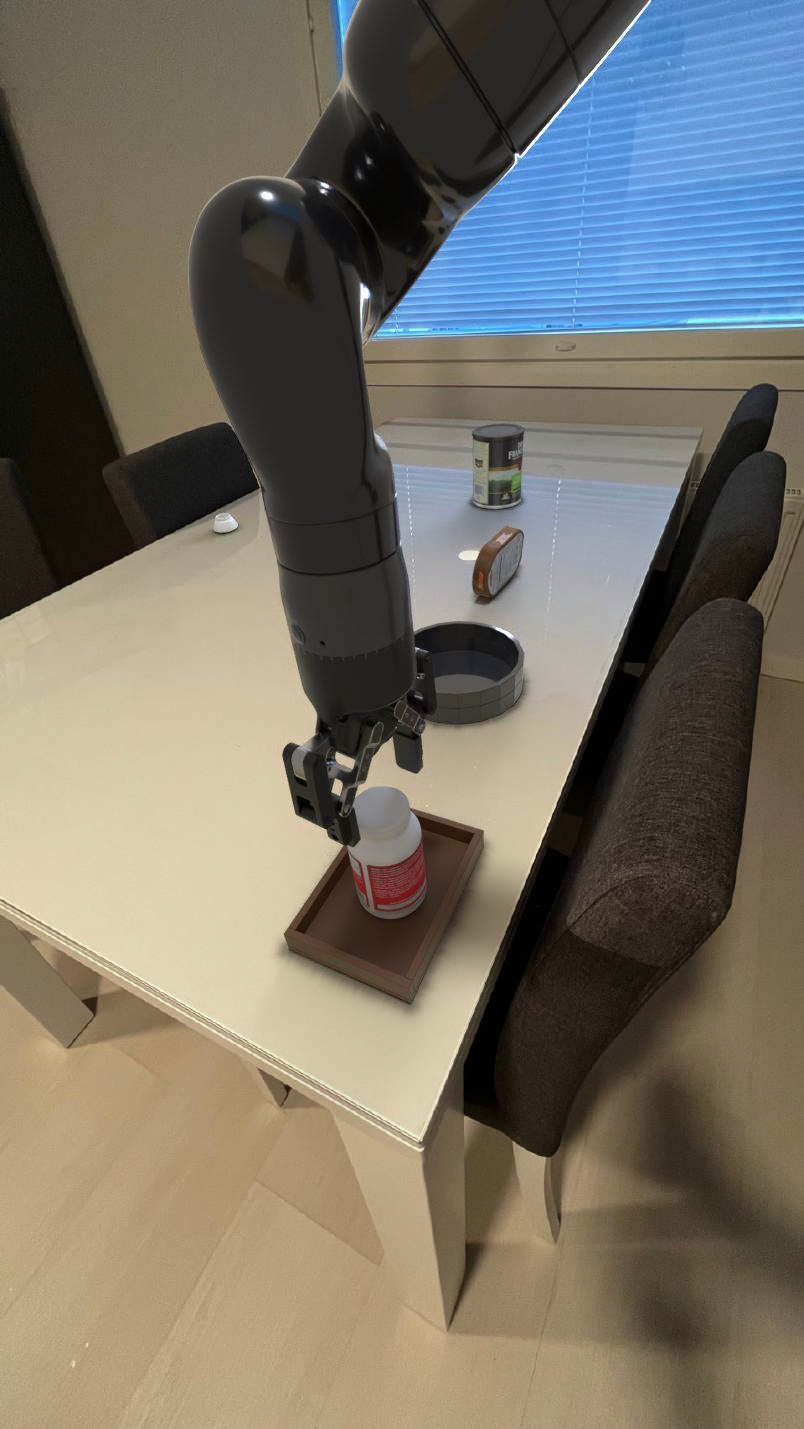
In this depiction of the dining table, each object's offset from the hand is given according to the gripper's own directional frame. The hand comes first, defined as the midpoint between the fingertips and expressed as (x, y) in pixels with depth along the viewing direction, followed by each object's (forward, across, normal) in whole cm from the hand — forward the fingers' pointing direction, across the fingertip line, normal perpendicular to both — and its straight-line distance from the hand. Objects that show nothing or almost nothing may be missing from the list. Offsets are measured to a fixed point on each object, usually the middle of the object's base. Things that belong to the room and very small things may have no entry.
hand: (380, 801), depth 46 cm
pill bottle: (+12, 0, 0) cm, 12 cm away
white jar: (+12, +57, +81) cm, 100 cm away
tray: (+12, 0, 0) cm, 12 cm away
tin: (+12, +57, +18) cm, 61 cm away
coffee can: (+12, +92, +36) cm, 100 cm away
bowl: (+12, +31, +11) cm, 35 cm away
